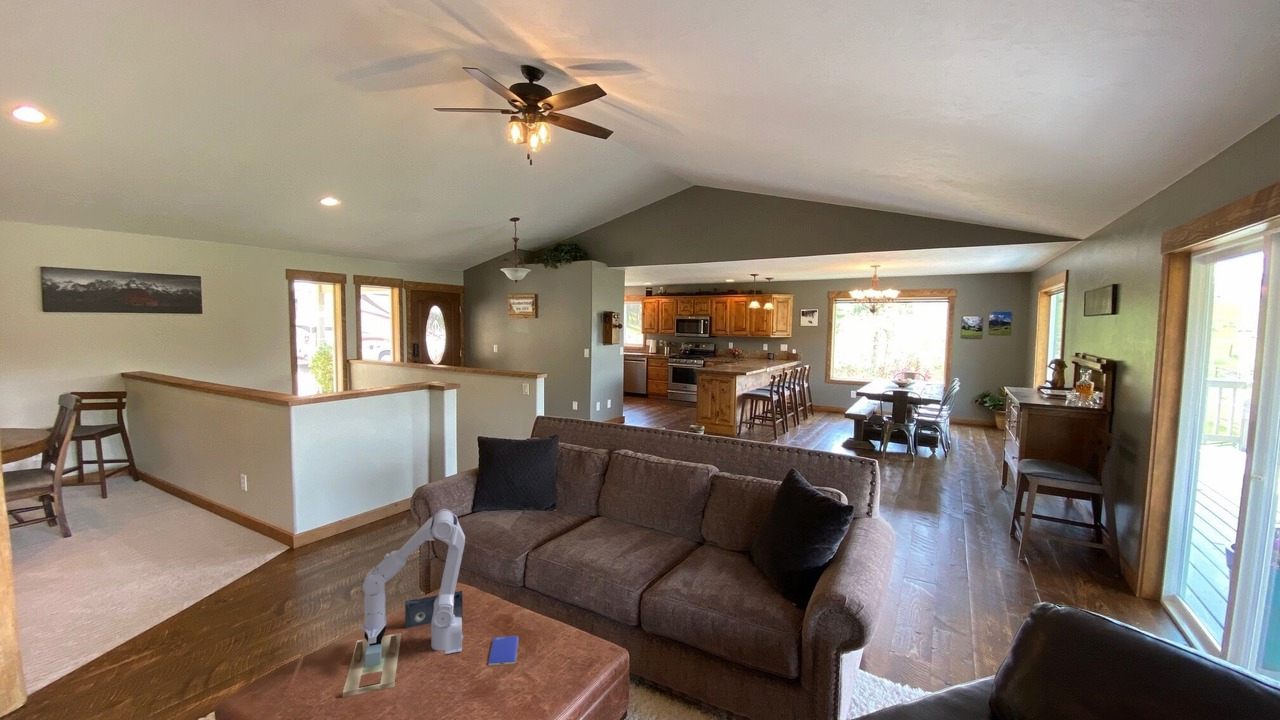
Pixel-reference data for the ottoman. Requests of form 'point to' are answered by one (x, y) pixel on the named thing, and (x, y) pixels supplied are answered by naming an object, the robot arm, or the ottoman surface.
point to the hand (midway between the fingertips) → (375, 651)
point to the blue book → (503, 650)
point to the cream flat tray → (387, 666)
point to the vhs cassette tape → (428, 610)
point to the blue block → (373, 655)
